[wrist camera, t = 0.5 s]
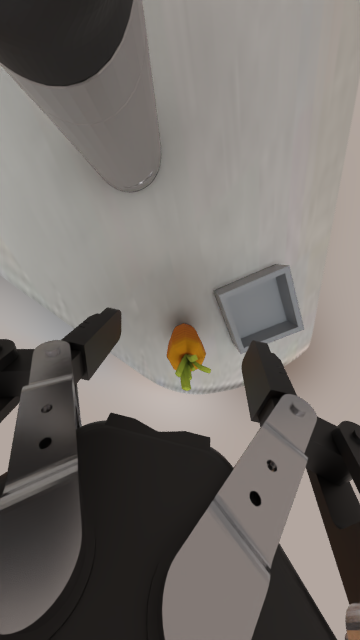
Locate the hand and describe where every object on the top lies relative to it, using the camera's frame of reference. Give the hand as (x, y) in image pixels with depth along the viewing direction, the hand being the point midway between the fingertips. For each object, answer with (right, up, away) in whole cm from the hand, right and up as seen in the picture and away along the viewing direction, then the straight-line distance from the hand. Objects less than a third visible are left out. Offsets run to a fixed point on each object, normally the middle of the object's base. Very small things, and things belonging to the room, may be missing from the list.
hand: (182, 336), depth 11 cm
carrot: (0, 0, +22) cm, 22 cm away
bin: (+12, +3, +21) cm, 25 cm away
